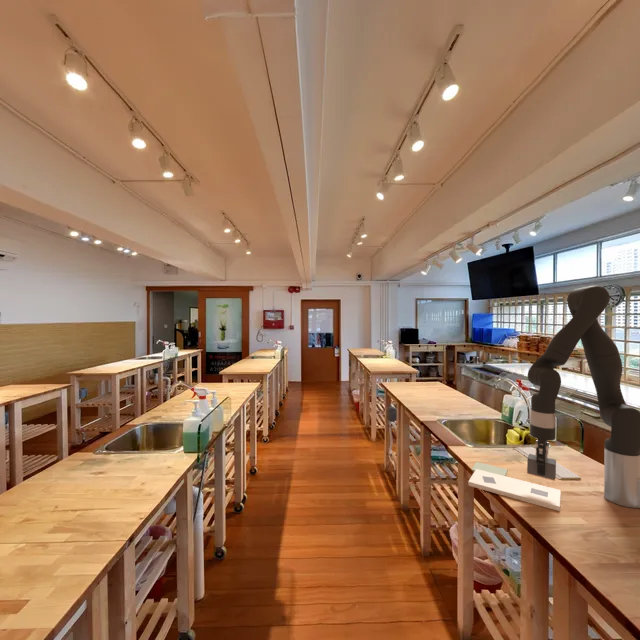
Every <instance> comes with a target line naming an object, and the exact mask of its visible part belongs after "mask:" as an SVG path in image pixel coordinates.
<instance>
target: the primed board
mask: <svg viewBox="0 0 640 640" xmlns="http://www.w3.org/2000/svg"><path fill="white" fill-rule="evenodd" d="M467 483H468V484H467V485H468V486H469V487H472V488H476V489H480V490H483V491H487V492H489V493H493V494H497V495H502V496H504V497H507V498H511V499H515V500H518V501H523V502H525V503H529V504H533V505H536V506H540V507H542V508H543V507H544V508H546V509H550V510H554V511H556V512H557V511H558V512H561V498H562V497H561V495H562V494H561V492H562V491H561V489H558V488H554V487H549V486H547V485H546V486H545V485H541V484H538V483H534V482H530V481H525V480H522V479H519V478H518V479H517V478H514V477H509V476H502V475H498V474H494V473H490V472H486V471H482V470H478V469H476V470H475V471H473V473H472V475H471V477H470V478H469V480H468V482H467Z"/></svg>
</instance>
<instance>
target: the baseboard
mask: <svg viewBox="0 0 640 640" xmlns="http://www.w3.org/2000/svg"><path fill="white" fill-rule="evenodd" d="M526 446H527V444H525V443H524V446H521V447H520V446H517V445H516V444H515V445H514V446H513V447H512V449H514V450H516V452H518V451H519V454H521V453H522V454H521V455H523V456H524V455H525V456H524V457H526V458H527V459H528V456H529V454H533V455H536V448H534V447H533V446H534V445H531V446H532V447H531V446H528V447H526ZM515 447H516V448H515ZM548 458H550V457H549V456H548ZM555 479H558V480H560V481H561V480H562V481H564V480H565V481H567V480H569V481H572V480H573V479H581V480H582V477H581V476H579V475H577V474H576V473H574V472H573V471H572V470H570V469H568V468H566V467H565V466H563V465H561V464H560V463H559V462H557V461H556V477H555ZM571 479H572V480H571ZM573 481H574V480H573Z"/></svg>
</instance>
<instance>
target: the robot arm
mask: <svg viewBox="0 0 640 640" xmlns="http://www.w3.org/2000/svg"><path fill="white" fill-rule="evenodd" d="M610 299H611V297H610V294H609V291H608V290H607V289H606V288H605V287H603V286H600V285H590V286H589V285H588V286H583V287H580V288H574V289H572V290H571V291H570V292H568V294H567V299H566V304H567V308H568V309H569V312H570V315H571V319H570V320H569V321H568V322H567V323H566V324H565V325H564V326H563V327H562V328H561V329H559V331H558V332H557V333H556V334H555V335H554V336H553V338H551V340H550V342H549V343H548V346H547V347H546V349H545V351H544V352H543V354H542V355H540V356H539V357H538V358H537V360H535V362H534V363H532V365H531V366H530V367H529V368H528V372H527V380H528V381H529V383H531V384H532V385H535V386H537V387H539V389H538V390H539V391H538V392H534V393H533V394H532V395H531V399H530V401H531V402H530V404H531V406H530V407H531V409H530V415H529V435H530V436H531V437H532V438H535V439H536V440H535V444H534V446H535V449H536V456H537V461H536V462H537V474H538V475H542V476H545V465H546V458H548V457H549V450H550V442H551V441H555V440H556V438H557V436H556V433H557V432H556V431H557V429H556V428H557V418H556V401H557V397H558V395H559V392H560V390H561V389H560V388H561V385H562V379H561V375H560V373H559V372H558V371H557V370H556V369H555V368H556V367H561V366H564V365H566V363H567V362H568V360H569V359H570V356H571V355H572V353H573V351H574V350H575V349H576V346H577V344H578V343H579V342H581V344H582V349H583V351H584V352H583V353H584V355H585V360H586V363H587V366H588V369H589V372H590V375H591V379H592V382H593V385H594V388H595V392H596V397H597V403H598V411H599V415H600V418H601V419H602V421H603V422H604V424H606V425H607V426H608V427H610V428H611V429H610V437H609V438H605V440H604V445H603V446H604V455H603V456H604V457H603V458H604V464H603V465H604V468H603V469H604V472H603V474H604V476H603V477H604V478H603V479H604V481H603V482H604V483H603V484H604V485H603V486H604V487H603V493H604V494H603V495H604V498H605V499H606V500H608V501H609V502H611V503H614V504H616V505H618V506H622V507H626V508H631V509H632V508H634V509H636V508H638V509H640V410H638V409H637V408H634V407H631V406H630V405H627V403H626V401H625V399H624V396H623V393H622V389H621V380H622V376H623V361H622V357H621V355H620V351H619V349H618V346H617V344H616V343H615V342H614V340H613V339H612V338H611V337H610V336H609V334H608V333H606V331H605V330H604V329H603V328H602V327H601V324H600V323H599V320H598V318H599V316H601V314H602V313H603V312H604V311H605V310H606V308H607V307H608V306H609V303H610V301H611V300H610ZM548 441H550V442H548ZM539 458H541V459H543V461H540V460H539Z"/></svg>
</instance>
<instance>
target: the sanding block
mask: <svg viewBox="0 0 640 640" xmlns="http://www.w3.org/2000/svg"><path fill="white" fill-rule="evenodd" d="M539 460H540V461H543V459H541V458H539ZM536 461H537V456H536V455H533V454H529V456H528V458H527V465H526V467H527V468H526V472H527V473H526V474H527V475H530V476H535V477H539V478H543V479H546V480H550V481H556V462H557V459H555V458H550V457H549V458H546V465H545V476H542V475H538V474H537V462H536Z"/></svg>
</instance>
